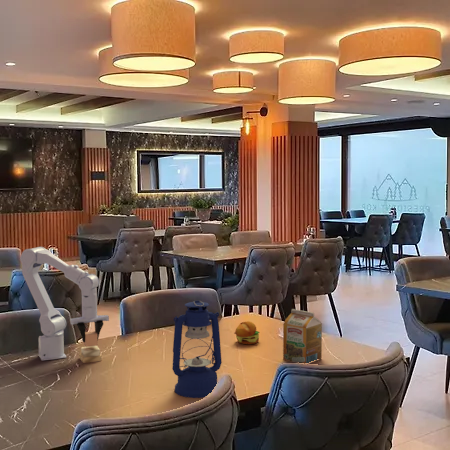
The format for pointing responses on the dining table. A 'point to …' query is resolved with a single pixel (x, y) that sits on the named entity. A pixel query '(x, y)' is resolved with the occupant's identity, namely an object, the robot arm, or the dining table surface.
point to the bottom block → (89, 358)
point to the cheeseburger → (247, 333)
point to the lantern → (196, 367)
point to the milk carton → (302, 337)
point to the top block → (90, 351)
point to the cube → (90, 339)
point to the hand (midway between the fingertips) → (90, 340)
